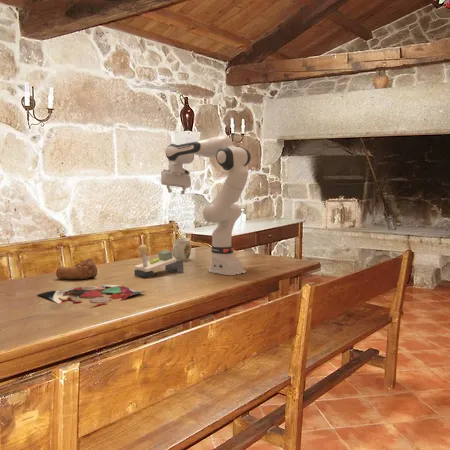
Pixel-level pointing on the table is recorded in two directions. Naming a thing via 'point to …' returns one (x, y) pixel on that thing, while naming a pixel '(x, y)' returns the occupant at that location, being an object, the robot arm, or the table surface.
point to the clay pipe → (78, 270)
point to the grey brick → (173, 267)
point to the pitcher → (182, 249)
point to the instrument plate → (155, 265)
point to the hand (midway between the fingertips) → (176, 193)
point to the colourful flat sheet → (91, 294)
